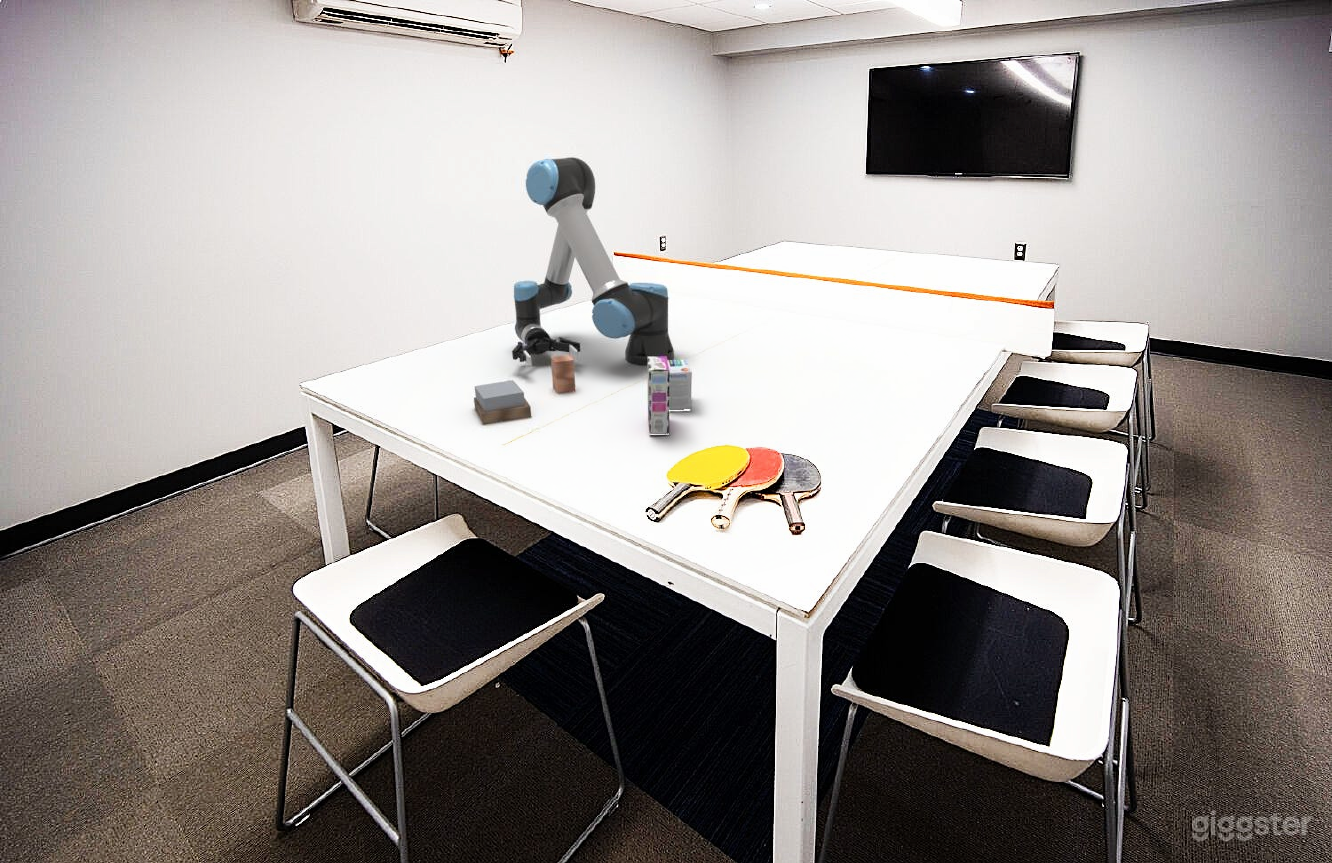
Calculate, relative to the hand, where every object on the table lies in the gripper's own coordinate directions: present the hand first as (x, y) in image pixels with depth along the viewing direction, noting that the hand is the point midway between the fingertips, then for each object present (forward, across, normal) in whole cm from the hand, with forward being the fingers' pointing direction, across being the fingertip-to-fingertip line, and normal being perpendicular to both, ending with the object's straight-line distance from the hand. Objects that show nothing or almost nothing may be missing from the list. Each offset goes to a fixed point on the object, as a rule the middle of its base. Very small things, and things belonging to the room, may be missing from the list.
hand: (553, 358), depth 207 cm
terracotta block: (+10, 0, -6) cm, 11 cm away
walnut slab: (+20, +19, -7) cm, 28 cm away
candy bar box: (+45, -14, -6) cm, 47 cm away
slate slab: (+20, +19, -3) cm, 28 cm away
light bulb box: (+33, -24, -6) cm, 41 cm away
